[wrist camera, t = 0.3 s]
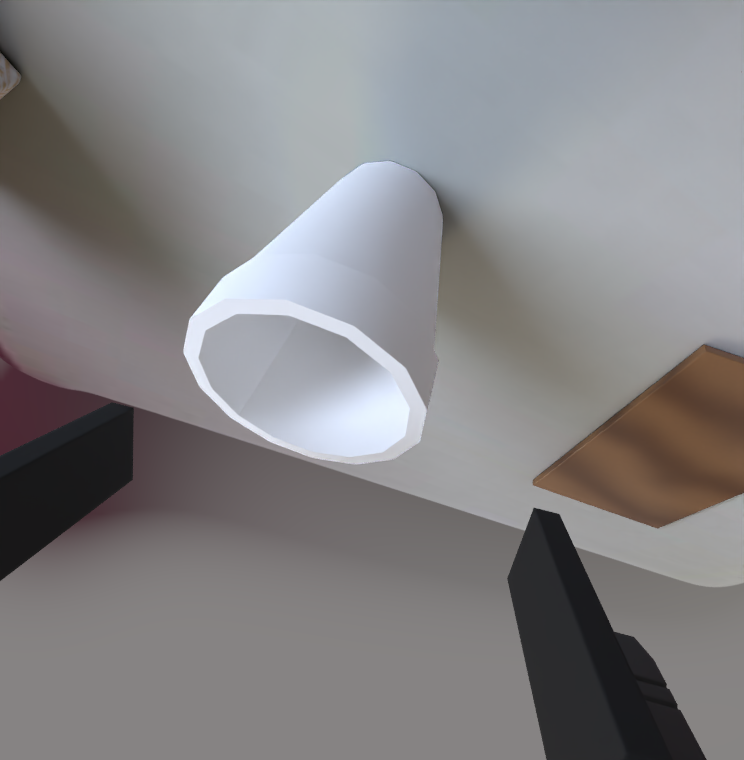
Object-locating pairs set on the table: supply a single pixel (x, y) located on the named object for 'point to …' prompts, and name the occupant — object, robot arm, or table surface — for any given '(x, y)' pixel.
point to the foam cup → (332, 323)
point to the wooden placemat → (664, 446)
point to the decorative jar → (7, 76)
